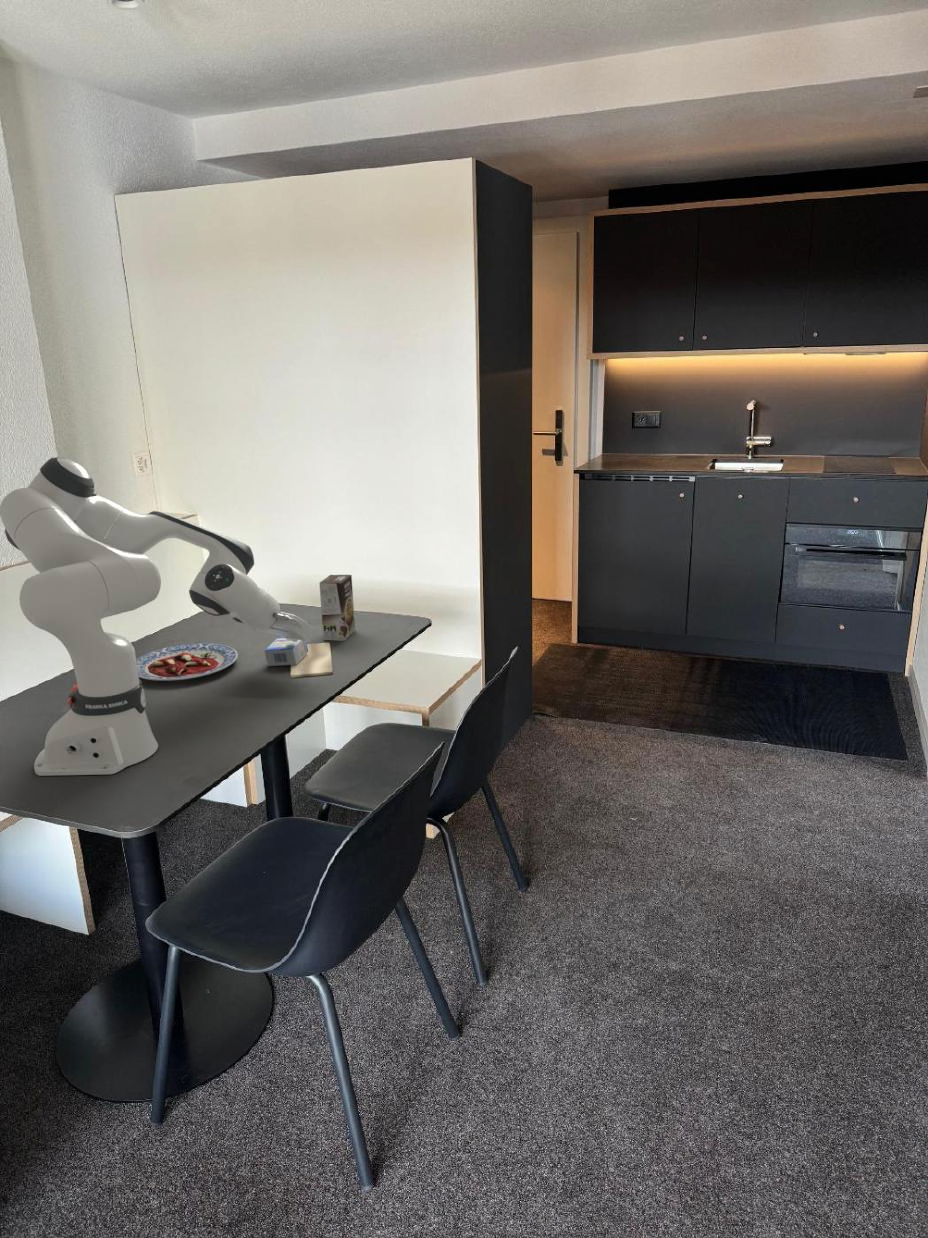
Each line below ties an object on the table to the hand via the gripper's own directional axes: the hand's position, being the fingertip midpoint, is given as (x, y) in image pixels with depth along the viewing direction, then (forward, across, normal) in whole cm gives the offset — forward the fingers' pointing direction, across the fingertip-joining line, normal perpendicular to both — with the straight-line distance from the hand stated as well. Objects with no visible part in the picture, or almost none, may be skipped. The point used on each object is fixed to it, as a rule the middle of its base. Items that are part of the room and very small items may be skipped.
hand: (293, 638), depth 217 cm
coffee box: (+20, +5, -11) cm, 23 cm away
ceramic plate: (-7, +22, +17) cm, 28 cm away
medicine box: (0, +1, +6) cm, 6 cm away
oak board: (+7, -2, +2) cm, 7 cm away
